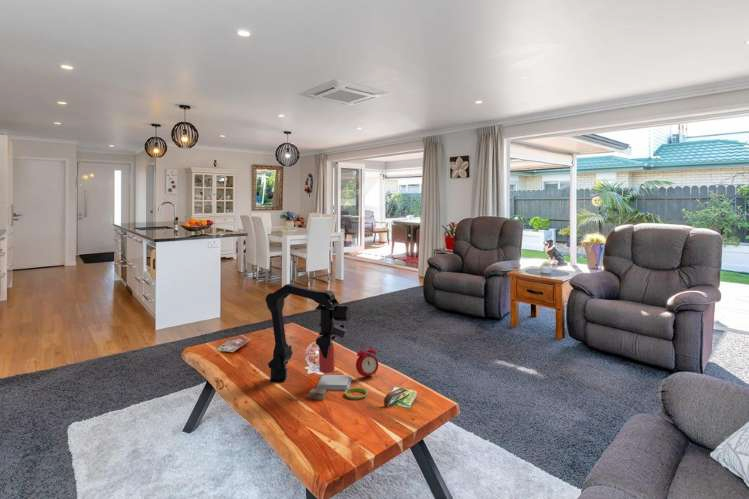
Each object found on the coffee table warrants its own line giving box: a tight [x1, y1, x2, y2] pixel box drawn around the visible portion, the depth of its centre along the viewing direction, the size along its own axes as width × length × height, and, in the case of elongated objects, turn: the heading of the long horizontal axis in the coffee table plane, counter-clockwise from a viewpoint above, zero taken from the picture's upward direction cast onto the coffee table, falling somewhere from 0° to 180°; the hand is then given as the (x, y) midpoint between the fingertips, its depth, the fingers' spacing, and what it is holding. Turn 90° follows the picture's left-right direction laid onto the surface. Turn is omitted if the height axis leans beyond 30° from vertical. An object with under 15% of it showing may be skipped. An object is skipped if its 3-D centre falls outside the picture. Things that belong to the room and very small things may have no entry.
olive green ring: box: [344, 387, 368, 400], centre depth 171 cm, size 9×9×9 cm
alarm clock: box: [355, 343, 379, 380], centre depth 192 cm, size 10×6×15 cm, turn 117°
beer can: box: [318, 342, 336, 374], centre depth 180 cm, size 7×7×12 cm
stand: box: [315, 374, 353, 392], centre depth 182 cm, size 14×14×2 cm
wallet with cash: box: [383, 387, 409, 407], centre depth 170 cm, size 15×3×8 cm, turn 138°
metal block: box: [308, 388, 327, 401], centre depth 168 cm, size 6×4×3 cm, turn 78°
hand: (326, 355), depth 180 cm, fingers closed on beer can, 7 cm apart
